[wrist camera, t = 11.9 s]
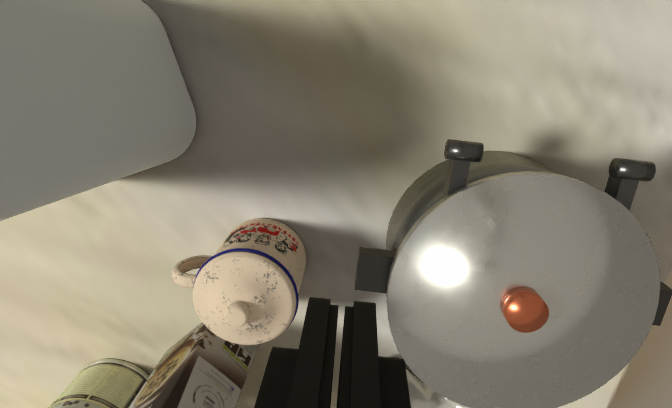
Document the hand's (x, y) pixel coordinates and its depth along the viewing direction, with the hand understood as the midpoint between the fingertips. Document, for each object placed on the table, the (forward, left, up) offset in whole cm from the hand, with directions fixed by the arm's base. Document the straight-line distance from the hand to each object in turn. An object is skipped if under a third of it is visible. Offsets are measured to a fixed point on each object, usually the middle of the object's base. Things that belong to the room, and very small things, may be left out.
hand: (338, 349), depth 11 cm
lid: (+9, +14, -22) cm, 28 cm away
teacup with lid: (+13, -9, -33) cm, 36 cm away
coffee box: (+25, -13, -33) cm, 43 cm away
